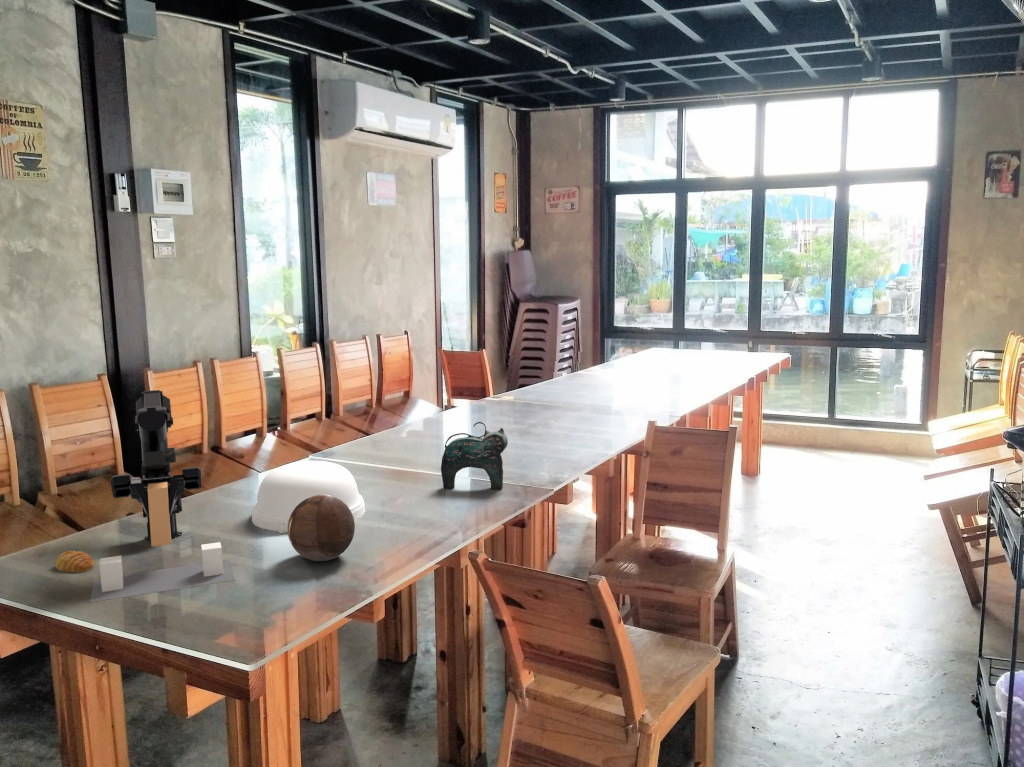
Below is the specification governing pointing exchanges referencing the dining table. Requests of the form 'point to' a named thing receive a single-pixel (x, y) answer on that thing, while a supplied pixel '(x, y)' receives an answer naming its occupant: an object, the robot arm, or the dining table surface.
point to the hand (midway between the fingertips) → (159, 514)
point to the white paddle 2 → (212, 559)
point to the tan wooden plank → (159, 514)
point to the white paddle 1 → (111, 573)
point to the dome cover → (302, 491)
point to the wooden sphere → (321, 527)
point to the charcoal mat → (162, 581)
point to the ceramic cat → (475, 457)
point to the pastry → (74, 562)
